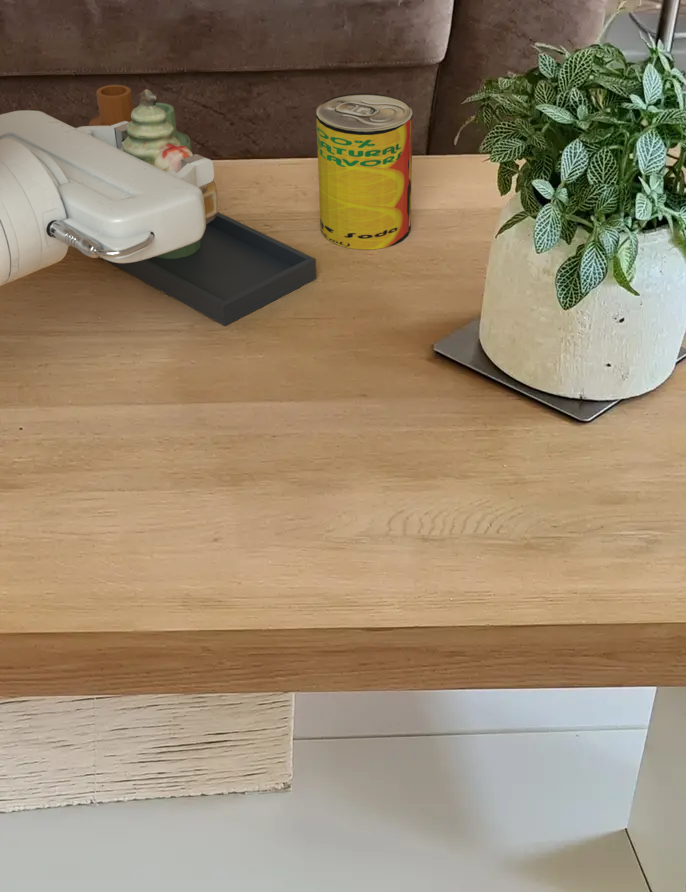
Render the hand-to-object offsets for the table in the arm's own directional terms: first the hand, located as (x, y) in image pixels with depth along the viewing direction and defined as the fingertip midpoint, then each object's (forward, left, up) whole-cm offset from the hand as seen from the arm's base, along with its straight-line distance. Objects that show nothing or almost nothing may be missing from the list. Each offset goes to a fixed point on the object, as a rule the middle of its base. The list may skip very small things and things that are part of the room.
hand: (170, 149), depth 88 cm
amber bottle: (-20, +9, -18) cm, 28 cm away
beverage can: (-4, +25, -18) cm, 31 cm away
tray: (-12, +9, -18) cm, 23 cm away
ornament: (0, -1, -6) cm, 6 cm away
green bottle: (-14, +9, -18) cm, 24 cm away
